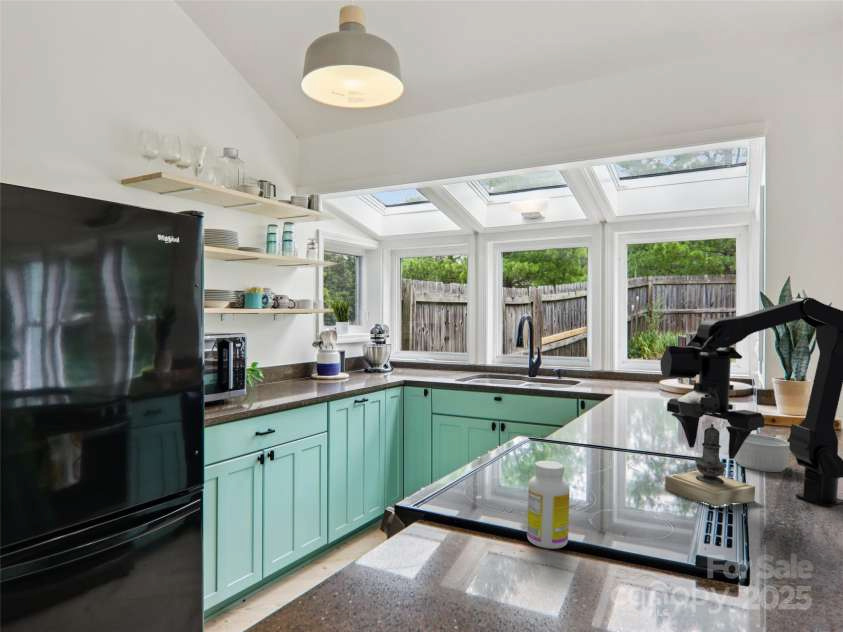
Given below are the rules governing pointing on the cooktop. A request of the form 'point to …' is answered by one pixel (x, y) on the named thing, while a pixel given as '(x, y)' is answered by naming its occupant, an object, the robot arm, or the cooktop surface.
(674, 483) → the soap dish
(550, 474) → the supplement bottle
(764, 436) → the ramekin
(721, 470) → the salt shaker
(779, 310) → the robot arm
